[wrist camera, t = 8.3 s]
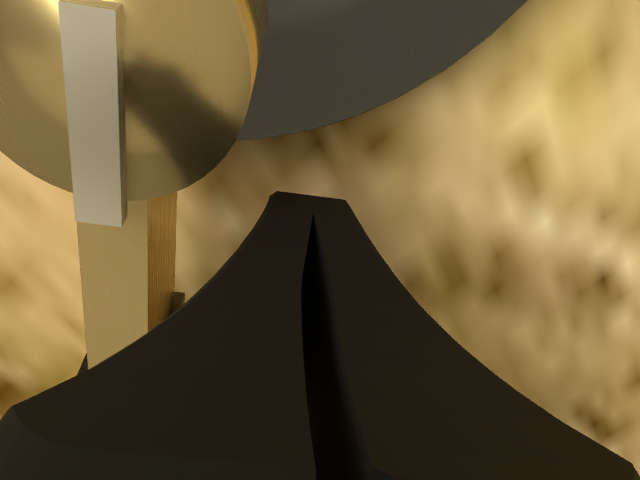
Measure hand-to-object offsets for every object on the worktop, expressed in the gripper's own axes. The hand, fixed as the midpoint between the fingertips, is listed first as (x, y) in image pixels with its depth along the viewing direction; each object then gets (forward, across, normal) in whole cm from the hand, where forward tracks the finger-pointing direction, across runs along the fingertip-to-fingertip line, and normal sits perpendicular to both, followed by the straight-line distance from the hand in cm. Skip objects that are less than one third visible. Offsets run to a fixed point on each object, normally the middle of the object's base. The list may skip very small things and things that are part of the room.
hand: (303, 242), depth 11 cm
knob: (+1, +3, -1) cm, 3 cm away
